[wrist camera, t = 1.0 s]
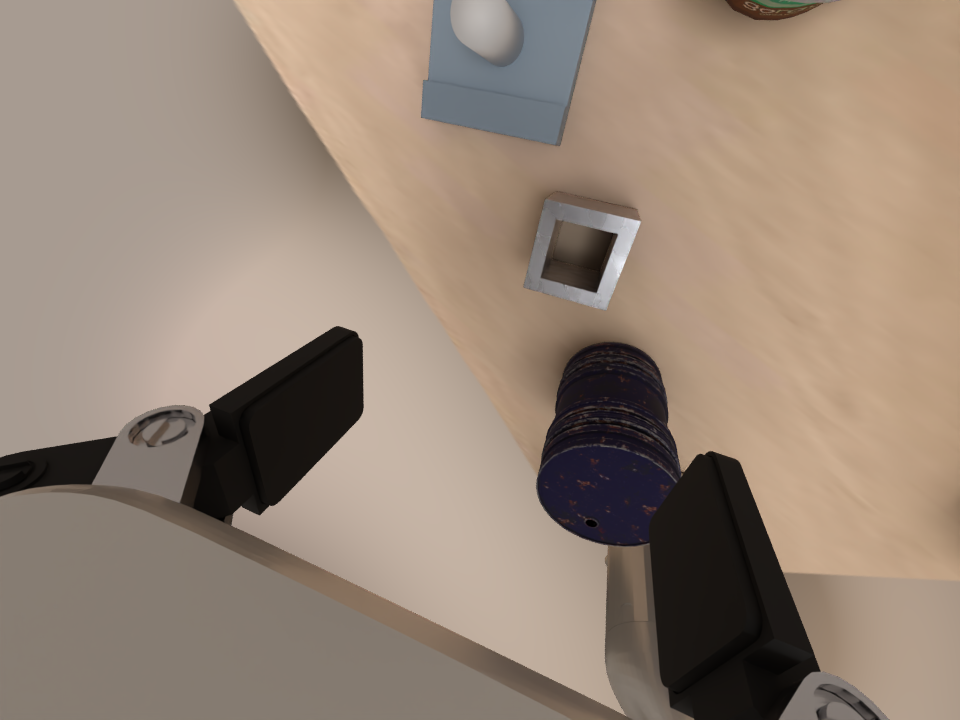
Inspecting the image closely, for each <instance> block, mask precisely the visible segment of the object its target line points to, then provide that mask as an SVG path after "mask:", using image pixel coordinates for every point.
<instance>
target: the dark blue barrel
mask: <svg viewBox="0 0 960 720" xmlns="http://www.w3.org/2000/svg"><path fill="white" fill-rule="evenodd" d="M667 403H668V402H667V397H666V391H665V388H664V385H663V383H662V378H661V374H660V371H659V368H658V367H657V365H656V364H655V362H654V361H653V360H652V359H651V358H650V357H649V356H648V355H647V354H646V353H644V352H643V351H641V350H639V349H638V348H635V347H633V346H630V345H627V344H623V343H615V342H604V343H598V344H594V345H591V346H588V347H586V348H584V349H582V350H581V351H579V352H578V353H576V354H575V355H574V356H573V357H572V358H571V359H570V361H569V362H568V363H567V365H566V367H565V369H564V373H563V377H562V379H561V381H560V385H559V388H558V392H557V401H556V407H555V413H556V416H555V419H554V420H553V422H552V424H551V426H550V428H549V429H548V432H547V436H546V441H545V444H544V448H543V452H542V458H541V465H540V469H539V473H538V477H537V483H536V484H537V485H536V489H537V495H538V498H539V501H540V503H541V505H542V506H543V508H544V510H545V511H546V512H547V513H548V515H549V516H550V517H551V518H552V519H553V520H554V521H555V522H557V523H558V524H559V525H560V526H562V527H563V528H564V529H566V530H568V531H569V532H571V533H573V534H575V535H577V536H579V537H581V538H583V539H586V540H589V541H592V542H595V543H599V544H603V545H609V546H618V547H635V546H642V545H647V544H650V543H649V524H650V521H651V518H652V517H653V515H654V514H655V512H656V511H657V510H658V508H659V507H660V505H661V504H662V503H663V501H664V500H665V499H666V497H667V496H668V494H669V493H670V492H671V490H672V489H673V488H674V486H675V485H676V483H677V482H678V481H679V479H680V478H681V470H680V464H679V459H678V455H677V448H676V444H675V441H674V438H673V436H672V435H671V432H670V430H669V429H668V427H667V423H668V407H667Z"/></svg>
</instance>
